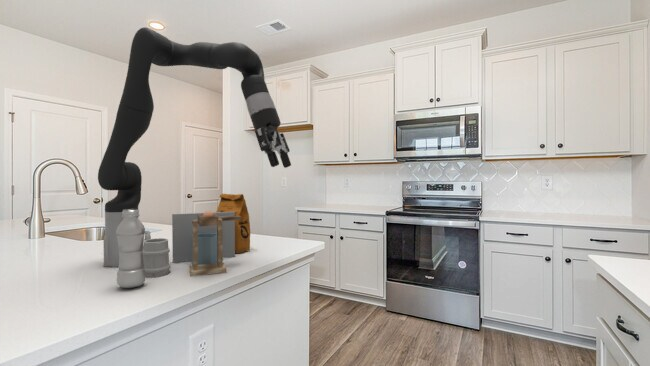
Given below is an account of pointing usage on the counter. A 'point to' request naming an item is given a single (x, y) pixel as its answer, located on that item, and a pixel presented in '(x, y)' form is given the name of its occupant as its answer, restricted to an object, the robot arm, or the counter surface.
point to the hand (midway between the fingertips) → (281, 166)
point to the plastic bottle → (131, 250)
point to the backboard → (184, 231)
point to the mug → (156, 256)
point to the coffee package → (241, 226)
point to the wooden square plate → (214, 220)
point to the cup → (206, 248)
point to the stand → (220, 265)
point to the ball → (208, 214)
